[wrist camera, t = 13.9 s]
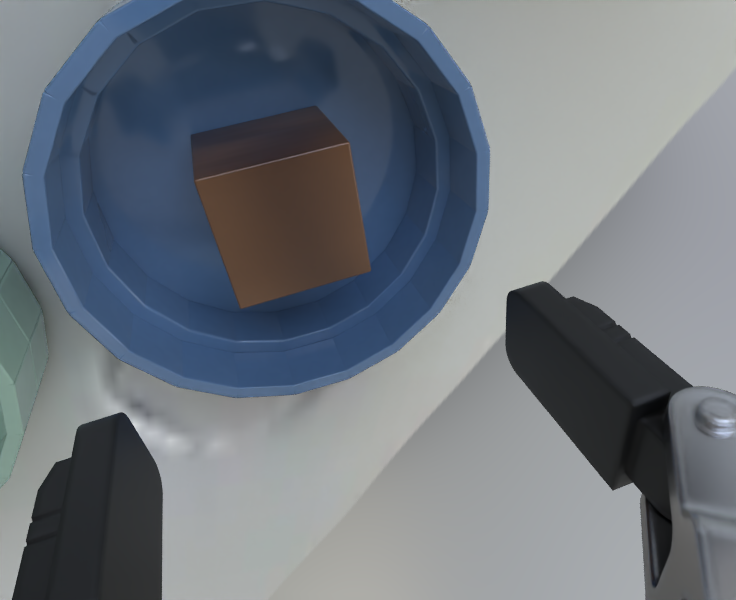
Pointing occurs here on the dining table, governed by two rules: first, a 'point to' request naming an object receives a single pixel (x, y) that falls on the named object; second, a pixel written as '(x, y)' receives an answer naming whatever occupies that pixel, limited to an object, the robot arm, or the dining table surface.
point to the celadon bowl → (18, 360)
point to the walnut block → (281, 204)
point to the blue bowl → (183, 205)
